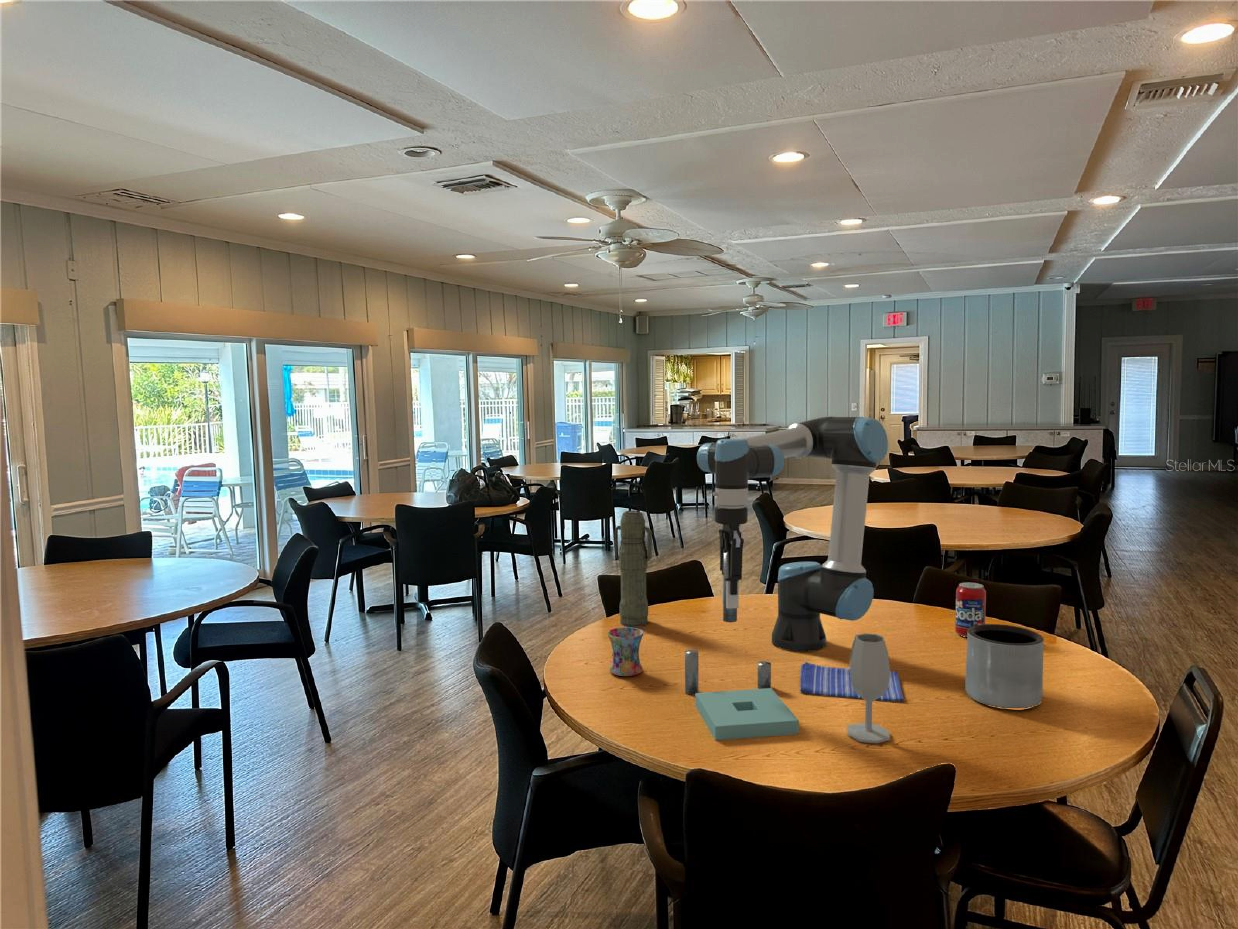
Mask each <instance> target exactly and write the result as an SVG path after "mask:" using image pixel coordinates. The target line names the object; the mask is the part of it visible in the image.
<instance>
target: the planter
mask: <svg viewBox="0 0 1238 929" xmlns="http://www.w3.org/2000/svg"><path fill="white" fill-rule="evenodd" d="M966 640H967V642H966V644H967V645H966V659H965V660H966V661H965V683H964V685H965V686H964V687H965V692H966V694H967V695H968V696H969V697H970V699H972V698H973V699H972V700H974V701H975V700H976V701H975V702H977V701H978V702H977V703H979V702H981V703H983V704H986V705H991V706H995V707H1001V708H1028V707H1032V706H1035V705H1038V704H1039V703H1040V702H1041V701H1042V702H1043V690H1044V689H1043V688H1044V687H1043V685H1044V680H1043V679H1044V678H1043V677H1044V644H1045V642H1044V641H1045V638H1044V637H1043V635H1041V634H1039V633H1038V632H1036V631H1034V630H1032V629H1031V630H1030V629H1028V628H1025V627H1021V626H1016V625H1008V624H999V623H997V624H996V623H985V624H982V625H976V626H973V627H970V628H969V629H968V633H967V638H966ZM1042 702H1041V703H1042ZM981 703H980V704H981ZM983 704H982V705H983ZM986 705H985V706H986ZM1039 705H1040V704H1039ZM1039 705H1038V706H1039Z"/></svg>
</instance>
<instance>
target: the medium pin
mask: <svg viewBox="0 0 1238 929" xmlns="http://www.w3.org/2000/svg"><path fill="white" fill-rule="evenodd" d="M699 688H700V686H699V650H697V649H686V650H685V651H684V694H686V695H690V696H693V695H694V696H695V693H700V691H699Z"/></svg>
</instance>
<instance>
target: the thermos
mask: <svg viewBox="0 0 1238 929" xmlns="http://www.w3.org/2000/svg"><path fill="white" fill-rule="evenodd" d="M619 522H620V525H617V526H616V527H615V529H614V532H613V533H614V534H613V537H614V542H613V543H614V559H615V560H617V561H618V563H619V564H618V567H619V570H620V602H619V616H620V618H619V619H620V621H619V623H620V625H621V626H623V627H633V628H639V627H643V626H646V625H648V623H649V621H648V619H649V618H648V616H649V603H648V602H649V601H648V599H647V570H648V569H647V568H648V562H649V561H650V560H651V559H652V558H653V556H652V555H653V554H652V550H653V549H652V548H653V547H652V546H653V541H652V540H653V531H652V530H651V529H650V527H648V526H646V521H645V517H644V515H643V512H642V511H640V510H626V511H624V512H622V515H621V518H620V521H619ZM618 530H619V531H620V539H621V540H620V546H619V531H618ZM646 533H647V545H646Z"/></svg>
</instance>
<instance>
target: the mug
mask: <svg viewBox="0 0 1238 929" xmlns="http://www.w3.org/2000/svg"><path fill="white" fill-rule="evenodd" d="M644 633H645V632H644V630H643V629H640V628H639V627H629V626H622V627H615V628H611V629H609V630H608V631H607V636H608V638H609V641H610V643H611V648H612V661H611V665H610V667H609V671H610V673H612V674H613V675H615V676H618V677H619V676H620V677H632V676H637V675H639V674H640V673H642V671H643V666H642V663H641V661H640V660H641V659H640V646H641V641H642V638H643V636H644Z"/></svg>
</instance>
